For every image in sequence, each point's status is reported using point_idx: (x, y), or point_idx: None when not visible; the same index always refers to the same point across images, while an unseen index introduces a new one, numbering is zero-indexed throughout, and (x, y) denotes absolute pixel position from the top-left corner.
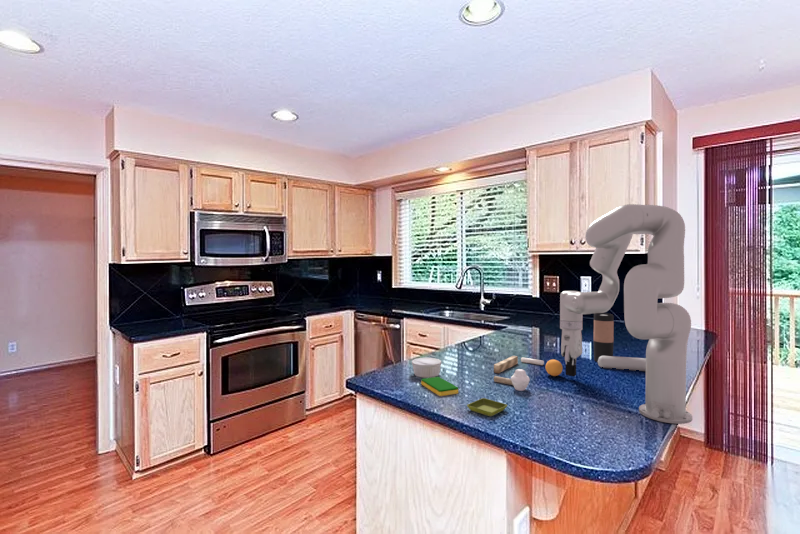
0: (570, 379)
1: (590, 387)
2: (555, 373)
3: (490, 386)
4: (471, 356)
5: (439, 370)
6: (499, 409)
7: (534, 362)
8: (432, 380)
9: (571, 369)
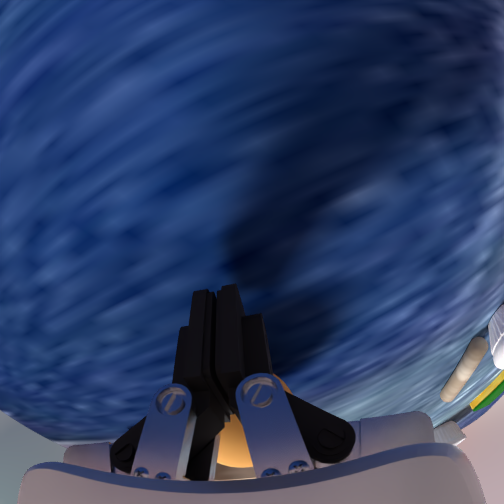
0: None
1: (326, 75)
2: (276, 376)
3: (486, 361)
4: None
5: (438, 436)
6: None
7: None
8: (496, 395)
9: (266, 346)
